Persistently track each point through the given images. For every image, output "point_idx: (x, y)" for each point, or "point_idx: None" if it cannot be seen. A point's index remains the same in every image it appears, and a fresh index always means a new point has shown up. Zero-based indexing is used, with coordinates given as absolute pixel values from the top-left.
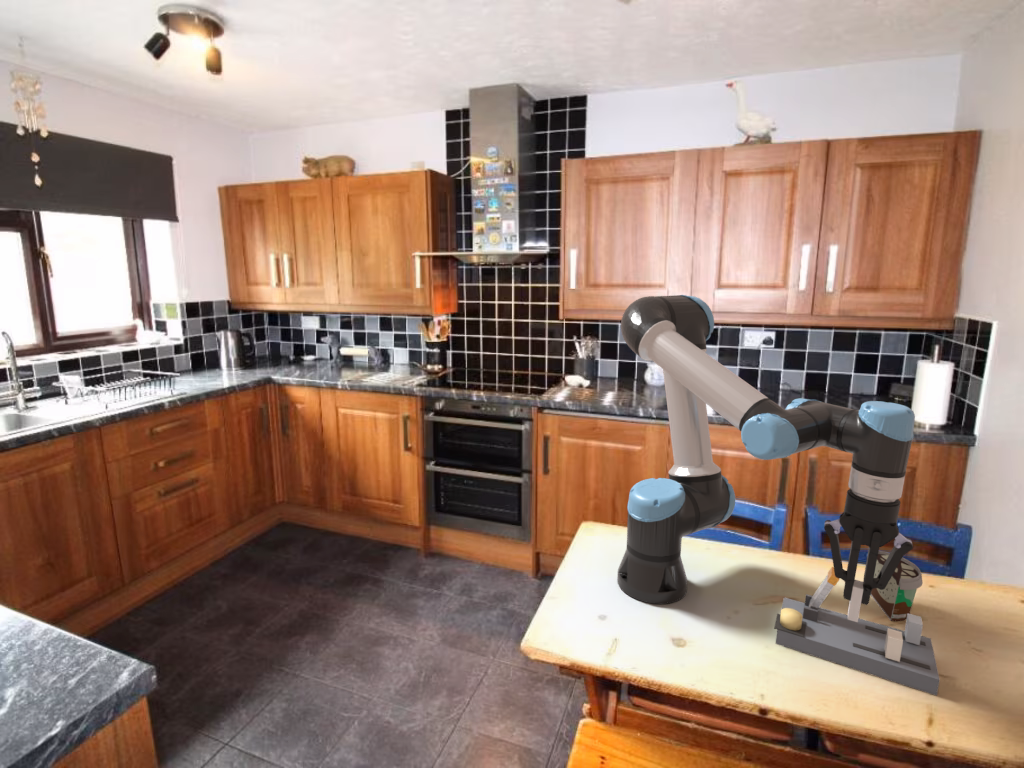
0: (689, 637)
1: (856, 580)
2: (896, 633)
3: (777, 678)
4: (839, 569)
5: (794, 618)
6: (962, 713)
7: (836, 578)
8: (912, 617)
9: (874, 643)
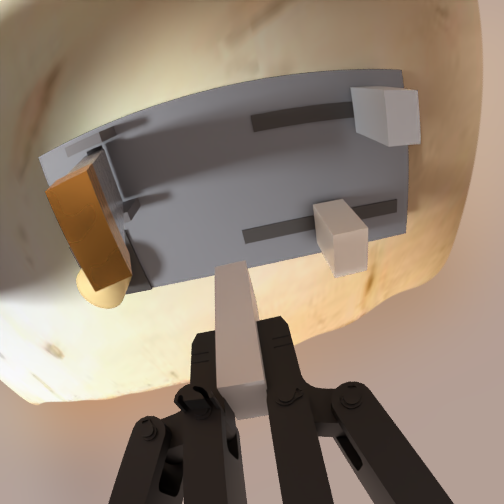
0: (50, 338)
1: (233, 388)
2: (354, 246)
3: (167, 343)
4: (177, 478)
5: (114, 301)
6: (413, 233)
7: (119, 280)
8: (397, 111)
9: (287, 191)
